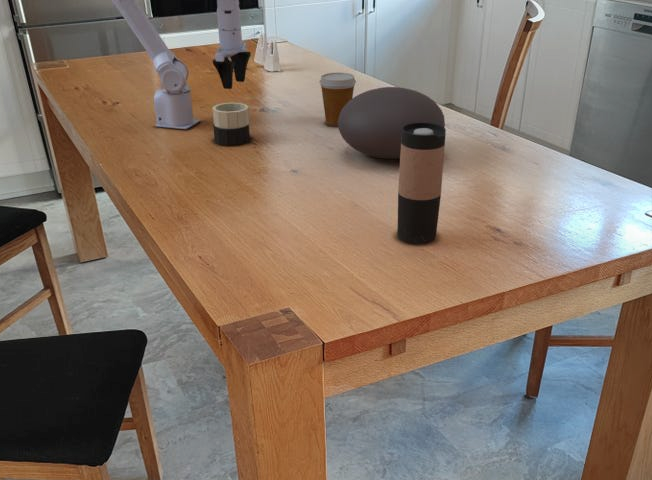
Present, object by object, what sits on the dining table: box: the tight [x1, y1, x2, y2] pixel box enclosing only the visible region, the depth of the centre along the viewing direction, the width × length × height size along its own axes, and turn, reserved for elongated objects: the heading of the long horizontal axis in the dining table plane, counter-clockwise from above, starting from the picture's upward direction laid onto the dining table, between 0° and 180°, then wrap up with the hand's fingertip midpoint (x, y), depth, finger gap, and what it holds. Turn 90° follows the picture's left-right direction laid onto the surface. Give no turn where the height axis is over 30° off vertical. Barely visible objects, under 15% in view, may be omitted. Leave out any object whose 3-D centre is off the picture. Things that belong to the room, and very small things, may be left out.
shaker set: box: [253, 32, 282, 72], centre depth 243 cm, size 12×4×11 cm, turn 34°
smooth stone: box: [337, 86, 446, 160], centre depth 168 cm, size 25×25×15 cm
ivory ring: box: [212, 101, 251, 129], centre depth 180 cm, size 9×9×4 cm
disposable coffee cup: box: [319, 72, 357, 127], centre depth 190 cm, size 10×10×12 cm
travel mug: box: [397, 122, 447, 246], centre depth 128 cm, size 8×8×20 cm
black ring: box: [212, 123, 251, 147], centre depth 181 cm, size 9×9×4 cm
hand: (234, 84), depth 189 cm, fingers open, 7 cm apart
